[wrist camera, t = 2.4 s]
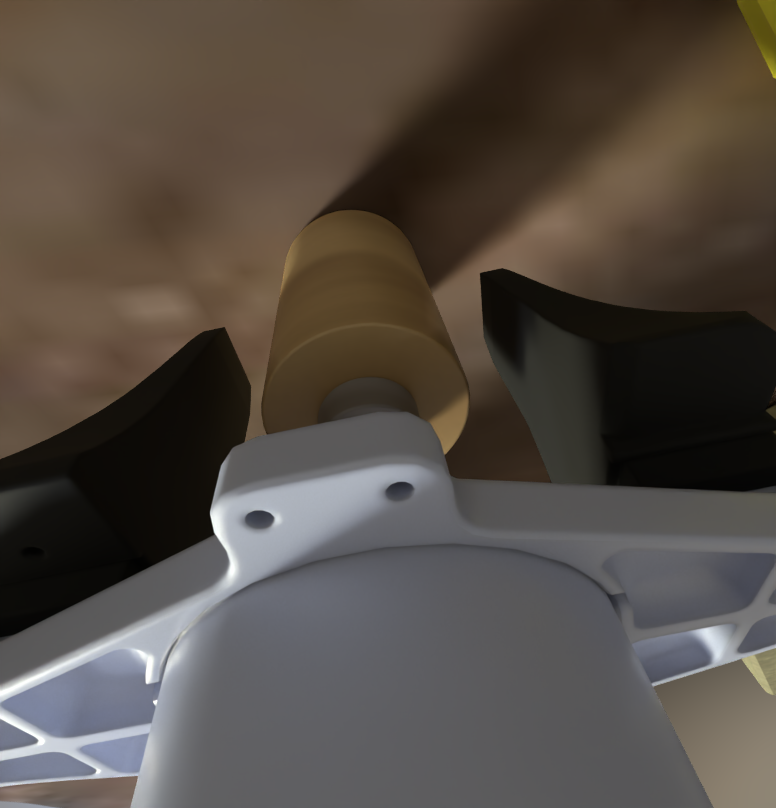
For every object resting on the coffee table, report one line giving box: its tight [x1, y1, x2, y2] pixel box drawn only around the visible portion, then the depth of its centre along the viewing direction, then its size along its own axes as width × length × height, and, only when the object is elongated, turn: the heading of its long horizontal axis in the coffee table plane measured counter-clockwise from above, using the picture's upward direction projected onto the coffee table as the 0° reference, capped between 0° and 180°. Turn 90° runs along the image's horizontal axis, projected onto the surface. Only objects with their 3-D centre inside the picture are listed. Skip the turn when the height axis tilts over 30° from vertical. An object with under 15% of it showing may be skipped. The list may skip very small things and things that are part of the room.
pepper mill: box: [261, 210, 470, 455], centre depth 13 cm, size 5×5×9 cm
